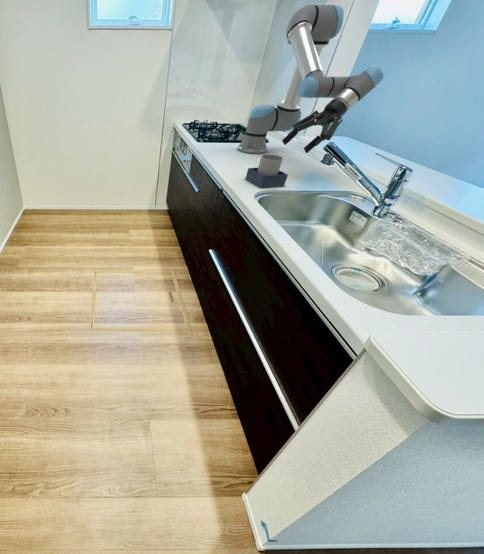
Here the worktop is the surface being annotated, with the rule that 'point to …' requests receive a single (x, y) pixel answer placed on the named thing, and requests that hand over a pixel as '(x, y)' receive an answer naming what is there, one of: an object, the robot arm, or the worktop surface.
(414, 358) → the worktop surface
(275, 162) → the cup
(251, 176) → the dark navy open box
